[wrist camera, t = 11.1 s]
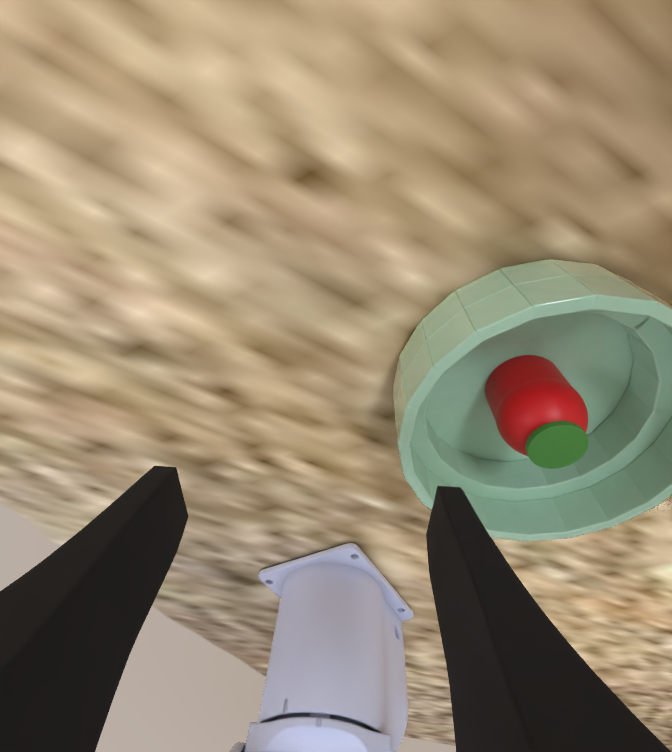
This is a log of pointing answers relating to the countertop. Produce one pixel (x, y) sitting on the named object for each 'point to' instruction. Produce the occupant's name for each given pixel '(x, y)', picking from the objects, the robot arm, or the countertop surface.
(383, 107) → the countertop surface
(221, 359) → the countertop surface
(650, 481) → the bowl
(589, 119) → the countertop surface
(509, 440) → the strawberry
